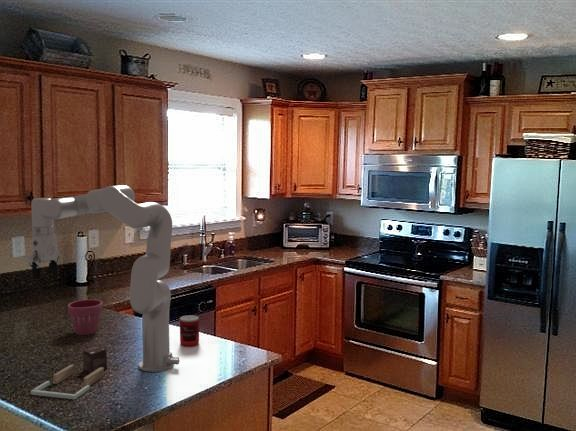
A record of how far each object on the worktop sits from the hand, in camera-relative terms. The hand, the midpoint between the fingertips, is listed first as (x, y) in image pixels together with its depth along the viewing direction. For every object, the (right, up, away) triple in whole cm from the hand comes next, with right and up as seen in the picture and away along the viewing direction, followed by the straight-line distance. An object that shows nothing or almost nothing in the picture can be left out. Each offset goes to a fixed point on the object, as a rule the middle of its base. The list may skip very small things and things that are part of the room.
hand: (45, 275), depth 215 cm
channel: (+20, -34, -20) cm, 44 cm away
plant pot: (+4, -28, +33) cm, 44 cm away
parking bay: (+18, -35, -29) cm, 49 cm away
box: (+22, -33, -10) cm, 41 cm away
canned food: (+52, -30, +18) cm, 62 cm away
